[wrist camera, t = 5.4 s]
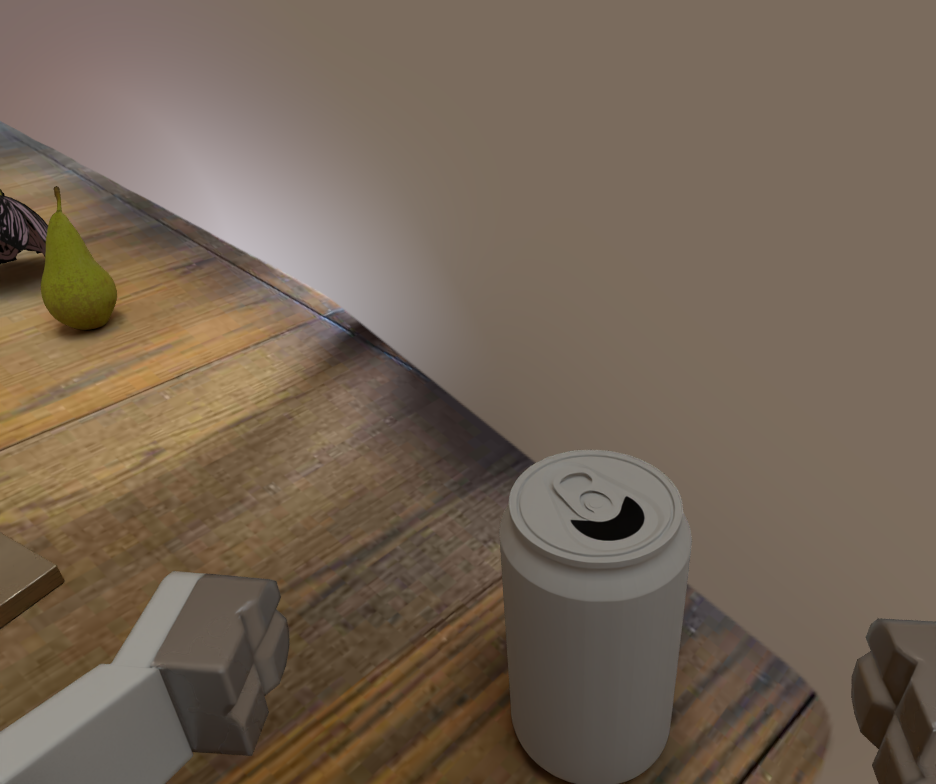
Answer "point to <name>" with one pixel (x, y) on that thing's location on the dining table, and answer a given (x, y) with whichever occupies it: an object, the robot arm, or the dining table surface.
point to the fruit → (74, 277)
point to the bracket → (23, 578)
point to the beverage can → (593, 612)
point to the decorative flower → (19, 229)
